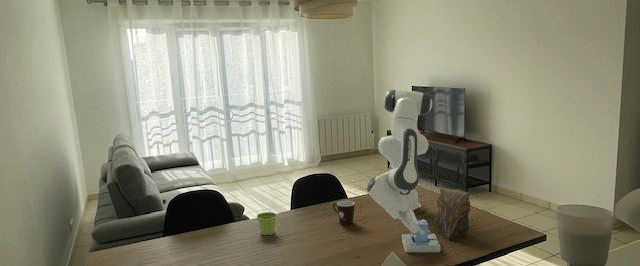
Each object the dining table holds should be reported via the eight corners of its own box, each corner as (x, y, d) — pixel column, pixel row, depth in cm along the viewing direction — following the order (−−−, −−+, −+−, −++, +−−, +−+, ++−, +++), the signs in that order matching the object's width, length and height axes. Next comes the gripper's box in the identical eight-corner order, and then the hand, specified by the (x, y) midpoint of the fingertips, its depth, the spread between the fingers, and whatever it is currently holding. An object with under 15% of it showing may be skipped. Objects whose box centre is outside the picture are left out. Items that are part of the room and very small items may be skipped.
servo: (410, 238, 188) (410, 218, 187) (428, 238, 188) (428, 218, 186) (412, 242, 184) (412, 222, 182) (430, 242, 183) (430, 222, 182)
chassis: (402, 240, 193) (402, 234, 192) (434, 240, 192) (434, 233, 191) (405, 252, 181) (405, 245, 180) (440, 252, 180) (440, 245, 179)
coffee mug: (358, 224, 213) (357, 204, 212) (341, 227, 210) (341, 207, 208) (347, 217, 224) (347, 198, 222) (332, 219, 221) (331, 200, 219)
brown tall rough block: (433, 230, 203) (434, 188, 200) (458, 227, 206) (459, 185, 202) (446, 240, 191) (447, 196, 188) (473, 237, 193) (474, 193, 190)
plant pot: (265, 228, 213) (264, 210, 212) (281, 231, 208) (280, 213, 207) (253, 234, 205) (252, 217, 204) (269, 238, 200) (268, 220, 199)
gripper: (407, 211, 173) (432, 234, 174) (400, 195, 193) (423, 216, 194) (395, 222, 174) (420, 245, 175) (390, 205, 194) (413, 226, 195)
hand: (422, 230), depth 185 cm, fingers closed on servo, 4 cm apart
